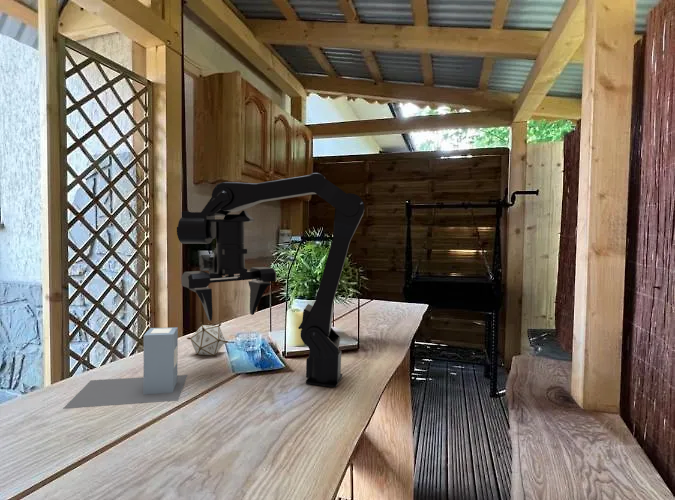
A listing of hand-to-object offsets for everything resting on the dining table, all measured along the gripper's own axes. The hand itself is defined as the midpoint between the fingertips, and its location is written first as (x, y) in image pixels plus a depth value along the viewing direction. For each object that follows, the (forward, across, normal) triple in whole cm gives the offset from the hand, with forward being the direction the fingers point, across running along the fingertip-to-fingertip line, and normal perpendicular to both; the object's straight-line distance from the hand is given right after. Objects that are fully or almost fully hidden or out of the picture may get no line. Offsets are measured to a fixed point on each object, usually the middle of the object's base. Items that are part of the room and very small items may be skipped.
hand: (231, 317), depth 81 cm
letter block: (+12, +14, 0) cm, 18 cm away
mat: (+12, +19, -2) cm, 22 cm away
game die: (+12, 0, -15) cm, 19 cm away
